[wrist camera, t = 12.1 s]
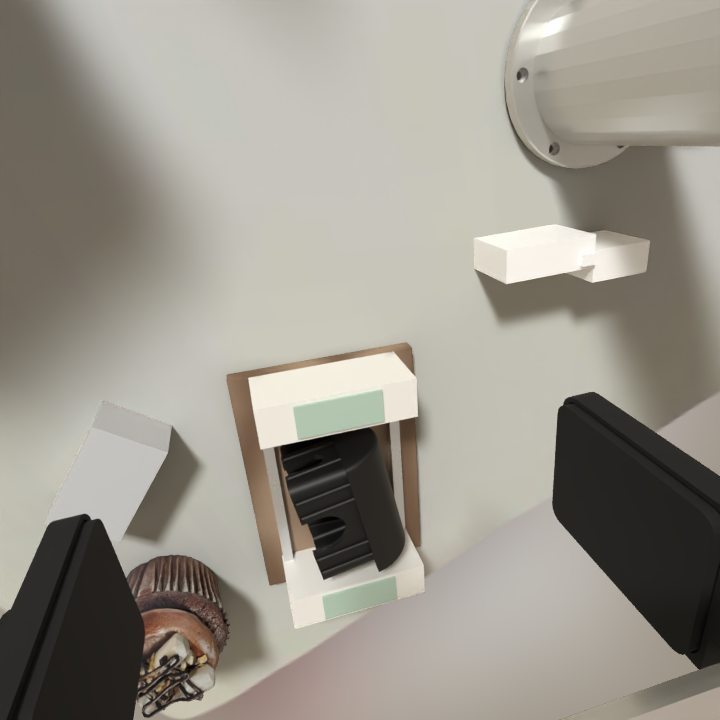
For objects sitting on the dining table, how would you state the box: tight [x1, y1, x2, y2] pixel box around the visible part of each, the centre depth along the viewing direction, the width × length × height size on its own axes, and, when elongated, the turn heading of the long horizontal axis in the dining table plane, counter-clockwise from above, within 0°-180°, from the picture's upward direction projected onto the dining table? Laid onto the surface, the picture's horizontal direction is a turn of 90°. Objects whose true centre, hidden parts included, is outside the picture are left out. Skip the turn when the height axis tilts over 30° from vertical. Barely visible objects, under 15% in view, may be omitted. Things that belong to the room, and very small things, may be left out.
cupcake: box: [126, 555, 230, 718], centre depth 39 cm, size 10×10×10 cm
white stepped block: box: [474, 224, 650, 284], centre depth 39 cm, size 15×11×6 cm
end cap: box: [280, 427, 405, 580], centre depth 39 cm, size 10×7×7 cm
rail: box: [263, 421, 405, 562], centre depth 42 cm, size 11×20×1 cm, turn 5°
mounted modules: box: [248, 352, 425, 629], centre depth 40 cm, size 11×20×5 cm, turn 5°
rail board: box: [227, 343, 420, 586], centre depth 43 cm, size 14×20×1 cm
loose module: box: [44, 401, 172, 542], centre depth 36 cm, size 5×8×4 cm, turn 149°
